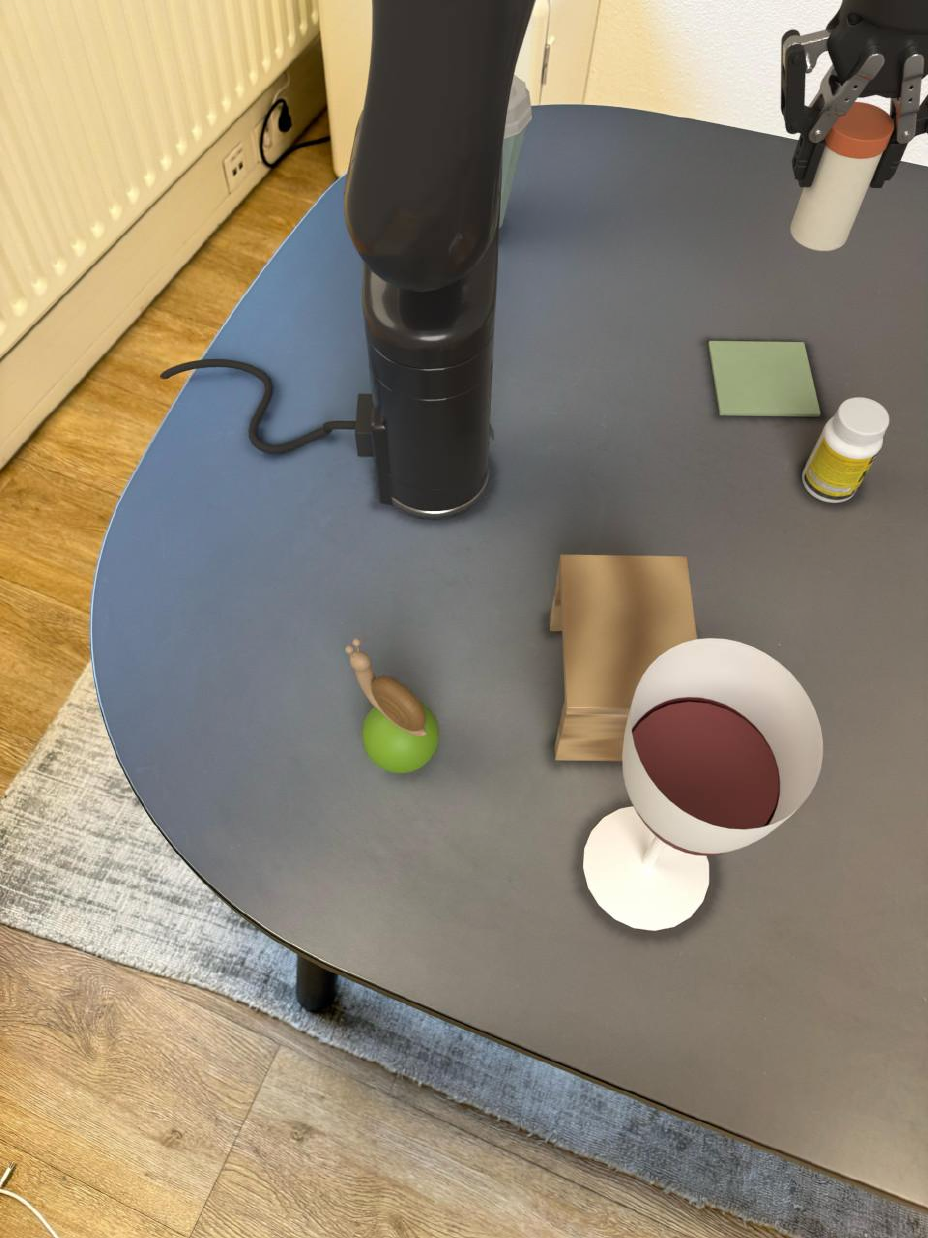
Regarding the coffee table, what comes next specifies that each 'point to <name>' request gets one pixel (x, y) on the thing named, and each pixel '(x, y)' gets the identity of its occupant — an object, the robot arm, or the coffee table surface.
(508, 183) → the disposable coffee cup
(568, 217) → the coffee table surface
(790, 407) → the mat
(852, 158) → the spice bottle
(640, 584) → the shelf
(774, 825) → the wineglass
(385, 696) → the snail figurine
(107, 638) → the coffee table surface
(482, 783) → the coffee table surface
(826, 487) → the supplement bottle
